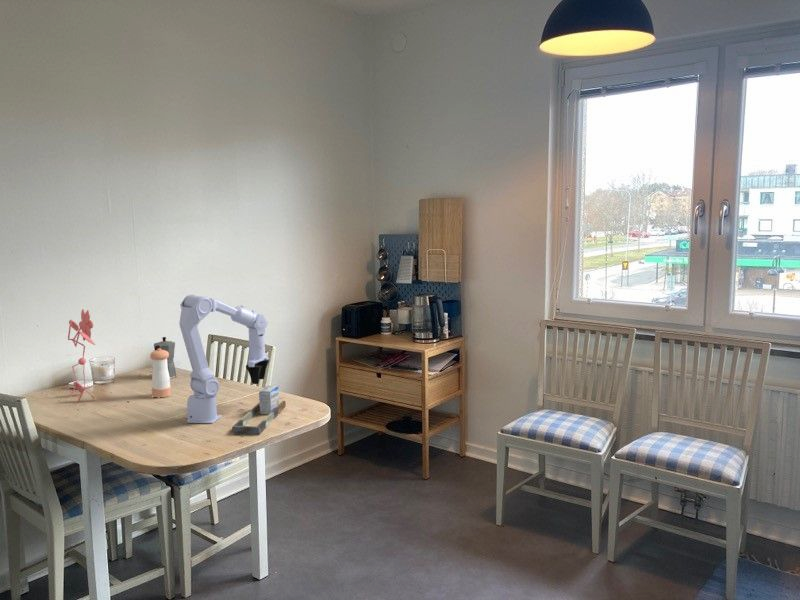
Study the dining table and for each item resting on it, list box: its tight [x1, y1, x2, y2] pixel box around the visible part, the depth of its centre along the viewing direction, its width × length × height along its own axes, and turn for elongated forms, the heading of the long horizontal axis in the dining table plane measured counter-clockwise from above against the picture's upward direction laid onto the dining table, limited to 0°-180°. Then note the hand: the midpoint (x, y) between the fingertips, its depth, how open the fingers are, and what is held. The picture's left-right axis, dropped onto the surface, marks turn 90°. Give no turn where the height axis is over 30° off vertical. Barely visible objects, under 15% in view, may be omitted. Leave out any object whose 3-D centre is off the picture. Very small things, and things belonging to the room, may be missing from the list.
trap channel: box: [232, 400, 287, 436], centre depth 226 cm, size 9×30×2 cm, turn 173°
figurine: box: [67, 309, 96, 402], centre depth 254 cm, size 15×26×35 cm, turn 43°
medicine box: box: [258, 385, 280, 415], centre depth 236 cm, size 8×4×9 cm, turn 168°
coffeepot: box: [153, 336, 177, 377], centre depth 284 cm, size 15×9×18 cm, turn 175°
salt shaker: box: [149, 348, 172, 398], centre depth 256 cm, size 7×7×19 cm
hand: (258, 381), depth 242 cm, fingers open, 6 cm apart
